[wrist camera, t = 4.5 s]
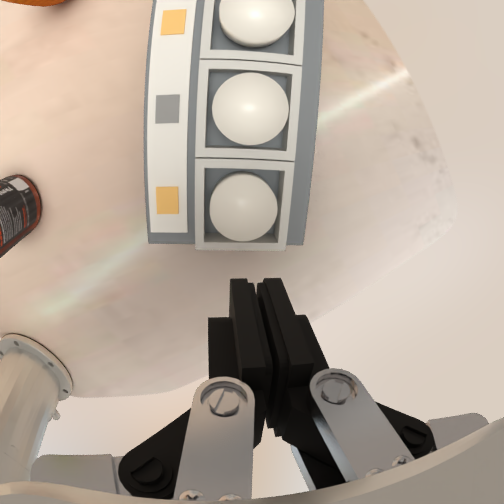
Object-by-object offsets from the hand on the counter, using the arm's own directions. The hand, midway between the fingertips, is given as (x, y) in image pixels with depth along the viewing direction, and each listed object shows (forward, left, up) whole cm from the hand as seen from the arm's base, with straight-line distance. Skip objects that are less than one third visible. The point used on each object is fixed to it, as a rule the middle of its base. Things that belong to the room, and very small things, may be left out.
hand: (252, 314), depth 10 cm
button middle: (+7, 0, -11) cm, 13 cm away
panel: (+7, +1, -15) cm, 17 cm away
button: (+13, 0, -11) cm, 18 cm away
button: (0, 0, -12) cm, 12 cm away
